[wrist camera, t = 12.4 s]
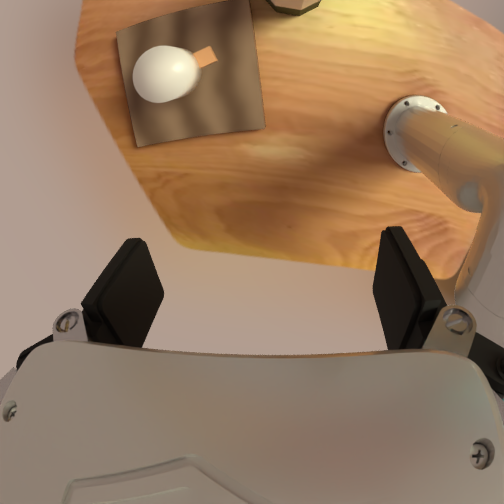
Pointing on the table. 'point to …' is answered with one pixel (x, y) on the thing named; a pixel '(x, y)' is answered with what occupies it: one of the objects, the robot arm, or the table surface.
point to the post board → (212, 76)
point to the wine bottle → (293, 6)
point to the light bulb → (169, 72)
